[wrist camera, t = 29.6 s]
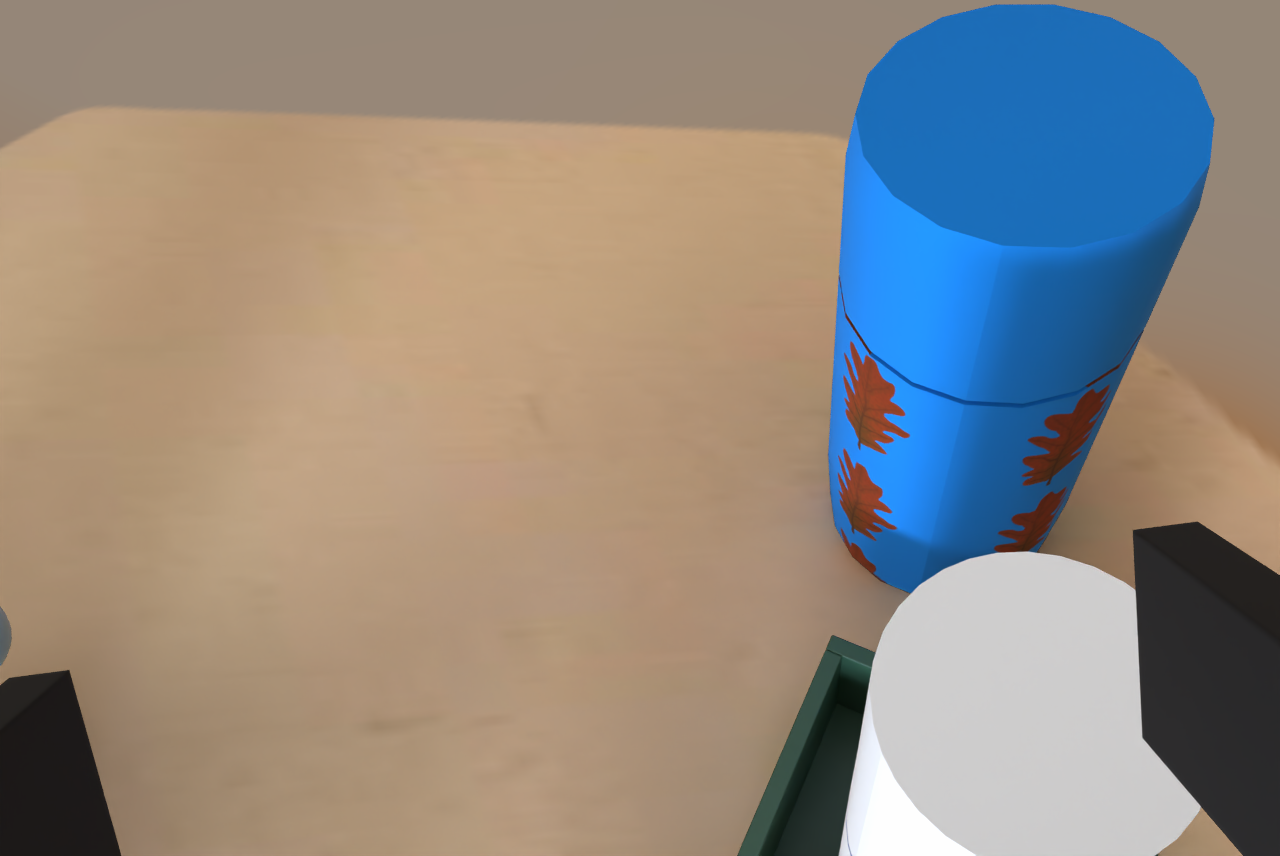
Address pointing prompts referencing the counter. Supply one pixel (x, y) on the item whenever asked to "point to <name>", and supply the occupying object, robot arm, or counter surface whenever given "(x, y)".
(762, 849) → the tray
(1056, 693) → the cylindrical container
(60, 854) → the robot arm
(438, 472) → the counter surface
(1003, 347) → the thermos
